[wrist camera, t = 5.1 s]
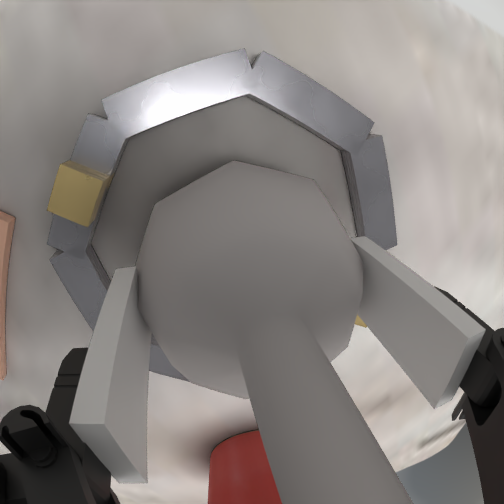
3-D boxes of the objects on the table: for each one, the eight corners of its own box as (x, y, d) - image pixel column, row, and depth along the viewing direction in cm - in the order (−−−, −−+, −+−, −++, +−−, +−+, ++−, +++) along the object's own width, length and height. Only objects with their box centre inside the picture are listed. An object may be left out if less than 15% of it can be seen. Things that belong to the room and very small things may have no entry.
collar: (40, 319, 14) (27, 342, 12) (151, 9, 10) (146, -9, 8) (288, 390, 20) (298, 413, 18) (426, 173, 16) (451, 181, 14)
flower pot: (166, 458, 22) (176, 556, 13) (262, 400, 20) (303, 519, 12) (246, 483, 26) (267, 558, 18) (331, 435, 25) (371, 516, 16)
